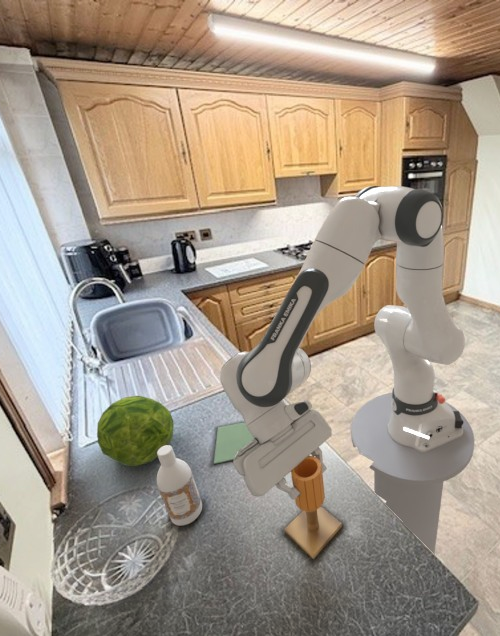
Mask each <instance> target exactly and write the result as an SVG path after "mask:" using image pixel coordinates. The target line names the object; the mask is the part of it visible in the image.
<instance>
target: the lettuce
mask: <svg viewBox="0 0 500 636" xmlns="http://www.w3.org/2000/svg"><path fill="white" fill-rule="evenodd" d="M96 429H97V430H96V431H97V432H96V437H97V444H98V446H99V448H100V450H101V452H102V454H103V455H105V456H106V457H109V458H110V459H111V460H113V461H115V462H118V463H121V464H123V465H125V466H129V467H130V466H132V467H140V466H143V465H146V464H150V463H151V462H152V461H154V460H156V459H157V458H158V455H157V451H158V450H159V449H160V448H161V447H163V446H166V445H170V443H171V441H172V438H173V436H174V418H173V416H172V414H171V411H170V410H169V409H168V408H167V407H166V406H165V405H164V404H162V403H161V402H160V401H157V400H155V399H153V398H150V397H146V396H141V395H134V396H133V395H132V396H125V397H122V398H120V399H119V400H116V401H115V402H112V403H111V404H110V405H109V406H108V407H107V408H106V409H105V410H104V411H103V412H102V414H101V416H100V418H99V420H98V421H97V428H96Z"/></svg>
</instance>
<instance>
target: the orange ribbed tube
mask: <svg viewBox="0 0 500 636" xmlns="http://www.w3.org/2000/svg"><path fill="white" fill-rule="evenodd" d="M290 475H291V481H292V487H295V486H296V487H297V489H298V491H299V492H300V495H299V496H298V497H297V498H296V499H295V500H294V501H295V505H296V507H298V508H299V510H300V511H301V512H302V511H306V512H308V511H309V512H311V511H315V510H316V509H318V508H319V507H320V506H321V507H323V504H324V501H325V499H326V495H325V494H326V493H325V486H324V485H325V484H324V475H323V473H322V466H321V462H320V461H319V460H318V459H317V458H316V457H315V456H314V457H313V456H312V455H309V456H308V457H307V458H306V459H304V460H303V461H302V462H301V463H300V464H299V465H298V466H296V467H295V468H294V469H293V470H292V471H291V472H290Z"/></svg>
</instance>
